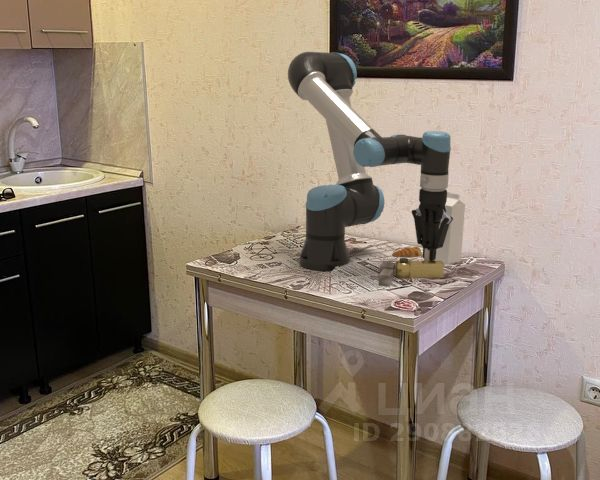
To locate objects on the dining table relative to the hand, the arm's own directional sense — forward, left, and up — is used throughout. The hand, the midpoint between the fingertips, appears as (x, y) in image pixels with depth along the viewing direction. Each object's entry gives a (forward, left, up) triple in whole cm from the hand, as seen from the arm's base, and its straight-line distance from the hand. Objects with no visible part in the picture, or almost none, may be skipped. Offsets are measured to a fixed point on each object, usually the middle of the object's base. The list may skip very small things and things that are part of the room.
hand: (428, 270), depth 188 cm
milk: (+4, +15, -2) cm, 16 cm away
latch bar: (-2, -4, -1) cm, 5 cm away
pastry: (-8, +18, -3) cm, 20 cm away
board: (-6, -6, -2) cm, 8 cm away
